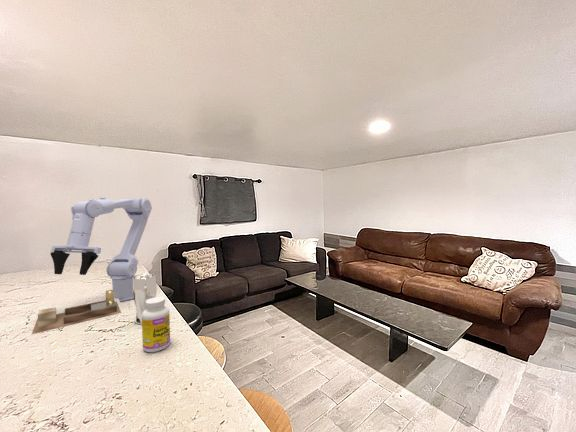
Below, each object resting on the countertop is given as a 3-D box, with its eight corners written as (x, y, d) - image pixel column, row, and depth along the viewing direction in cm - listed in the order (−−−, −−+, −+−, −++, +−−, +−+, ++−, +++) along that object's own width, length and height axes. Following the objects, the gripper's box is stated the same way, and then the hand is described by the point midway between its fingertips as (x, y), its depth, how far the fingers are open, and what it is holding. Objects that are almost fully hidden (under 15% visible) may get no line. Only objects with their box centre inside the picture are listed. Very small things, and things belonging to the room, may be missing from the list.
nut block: (56, 318, 83) (56, 307, 83) (55, 323, 80) (55, 310, 80) (39, 322, 81) (39, 310, 81) (38, 327, 78) (37, 314, 78)
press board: (116, 305, 98) (116, 296, 98) (121, 316, 87) (120, 307, 87) (37, 322, 84) (37, 312, 84) (31, 339, 73) (31, 327, 73)
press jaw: (114, 304, 95) (113, 287, 94) (116, 309, 89) (115, 292, 89) (90, 309, 90) (90, 292, 90) (91, 315, 85) (90, 297, 85)
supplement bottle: (151, 356, 64) (149, 306, 63) (137, 348, 67) (135, 301, 67) (175, 343, 69) (173, 298, 69) (161, 337, 73) (159, 294, 72)
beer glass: (162, 317, 86) (160, 274, 86) (145, 326, 80) (143, 280, 79) (147, 314, 89) (145, 272, 88) (128, 323, 82) (126, 278, 82)
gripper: (48, 231, 82) (36, 273, 79) (95, 232, 84) (85, 274, 80) (64, 235, 89) (53, 274, 86) (107, 236, 91) (99, 275, 87)
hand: (70, 274), depth 83 cm, fingers open, 7 cm apart
